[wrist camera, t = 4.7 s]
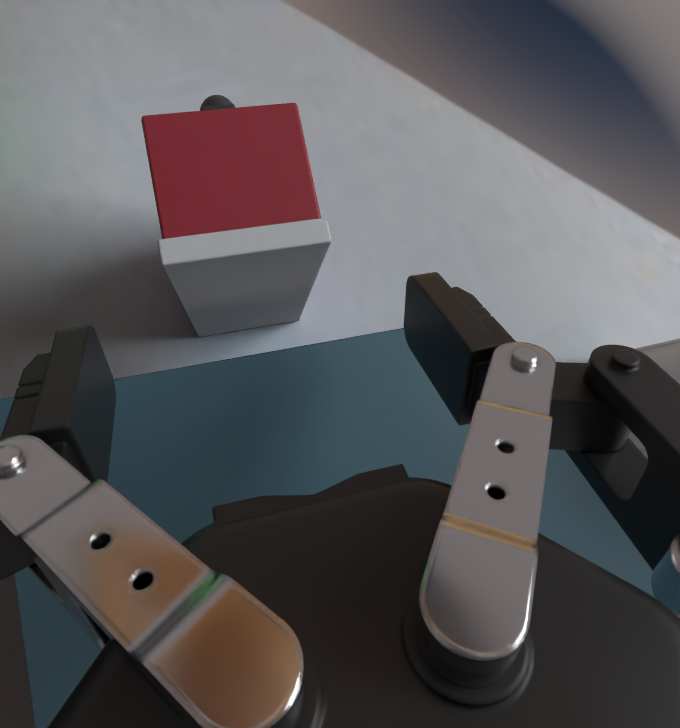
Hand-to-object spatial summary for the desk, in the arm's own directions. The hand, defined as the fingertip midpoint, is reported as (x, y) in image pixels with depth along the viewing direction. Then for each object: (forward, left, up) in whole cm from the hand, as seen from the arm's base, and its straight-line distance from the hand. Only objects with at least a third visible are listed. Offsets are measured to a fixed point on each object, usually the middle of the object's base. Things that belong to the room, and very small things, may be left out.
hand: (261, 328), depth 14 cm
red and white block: (0, +4, -9) cm, 10 cm away
